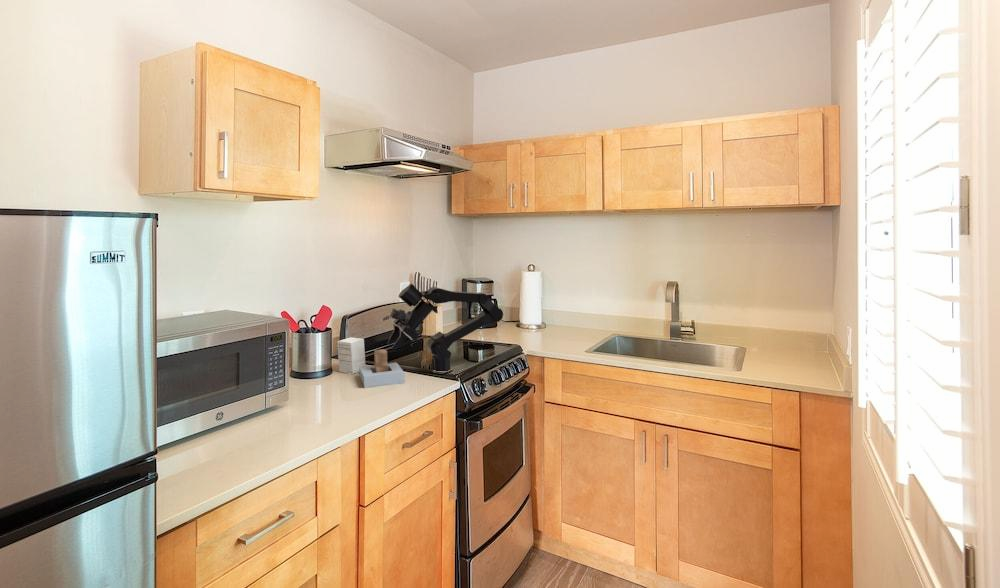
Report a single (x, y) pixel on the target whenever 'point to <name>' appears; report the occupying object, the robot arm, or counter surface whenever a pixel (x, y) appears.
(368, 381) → the well block
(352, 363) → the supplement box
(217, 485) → the counter surface
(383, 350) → the walnut post
